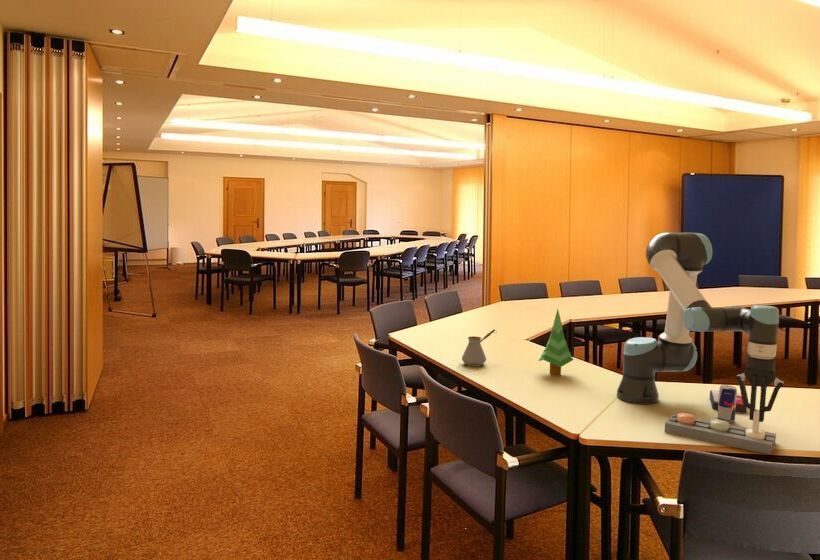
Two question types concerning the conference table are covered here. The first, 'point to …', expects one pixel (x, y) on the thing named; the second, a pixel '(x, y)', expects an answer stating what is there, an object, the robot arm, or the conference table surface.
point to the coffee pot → (475, 351)
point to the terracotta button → (686, 418)
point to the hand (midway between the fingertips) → (755, 430)
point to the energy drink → (727, 403)
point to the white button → (755, 434)
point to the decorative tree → (556, 348)
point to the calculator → (715, 399)
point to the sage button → (719, 425)
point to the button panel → (721, 435)
